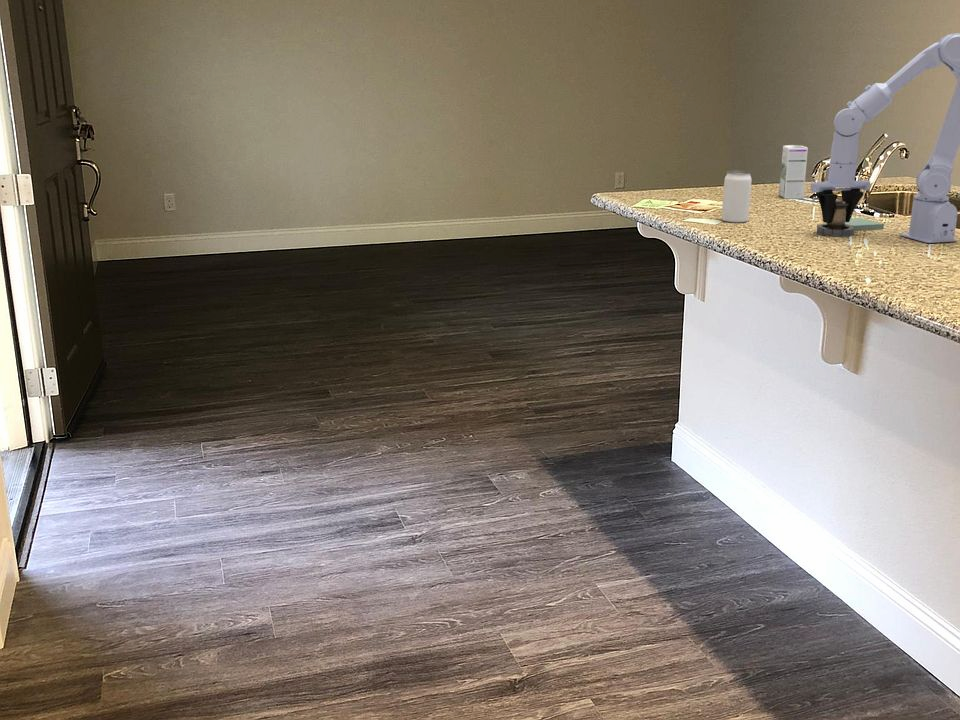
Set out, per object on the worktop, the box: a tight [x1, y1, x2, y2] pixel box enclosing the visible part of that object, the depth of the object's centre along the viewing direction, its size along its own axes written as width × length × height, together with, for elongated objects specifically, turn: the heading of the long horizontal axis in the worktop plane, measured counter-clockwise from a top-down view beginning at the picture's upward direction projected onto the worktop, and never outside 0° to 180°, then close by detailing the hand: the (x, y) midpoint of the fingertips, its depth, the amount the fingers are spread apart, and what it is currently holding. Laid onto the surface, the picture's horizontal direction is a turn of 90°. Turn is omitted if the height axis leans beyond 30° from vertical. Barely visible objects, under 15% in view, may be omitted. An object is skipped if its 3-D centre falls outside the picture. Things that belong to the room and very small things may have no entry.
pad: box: [845, 217, 885, 232], centre depth 235 cm, size 9×9×1 cm
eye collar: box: [816, 223, 855, 238], centre depth 227 cm, size 8×8×2 cm
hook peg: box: [826, 199, 849, 229], centre depth 226 cm, size 5×5×8 cm
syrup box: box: [778, 144, 809, 200], centre depth 276 cm, size 6×6×14 cm
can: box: [721, 170, 753, 224], centre depth 241 cm, size 6×6×12 cm
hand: (836, 222), depth 226 cm, fingers closed on hook peg, 4 cm apart
